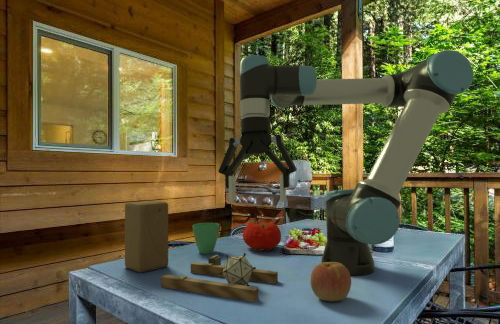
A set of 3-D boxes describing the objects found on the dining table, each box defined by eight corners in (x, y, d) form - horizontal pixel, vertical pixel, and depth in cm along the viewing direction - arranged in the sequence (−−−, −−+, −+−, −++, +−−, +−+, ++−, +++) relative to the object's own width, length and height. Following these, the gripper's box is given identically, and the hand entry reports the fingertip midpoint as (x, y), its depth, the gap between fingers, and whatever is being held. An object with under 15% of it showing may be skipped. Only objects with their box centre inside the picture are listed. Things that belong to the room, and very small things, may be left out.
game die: (243, 304, 80) (250, 278, 75) (212, 289, 82) (217, 263, 77) (255, 276, 88) (262, 251, 82) (226, 264, 89) (232, 238, 84)
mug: (223, 253, 117) (223, 225, 117) (196, 256, 113) (196, 227, 113) (210, 245, 130) (210, 220, 130) (186, 248, 126) (186, 222, 126)
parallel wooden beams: (281, 278, 88) (281, 261, 88) (254, 302, 72) (254, 281, 72) (200, 267, 99) (200, 253, 99) (160, 286, 83) (160, 269, 83)
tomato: (249, 255, 114) (249, 226, 114) (239, 245, 130) (239, 220, 130) (288, 252, 117) (287, 224, 118) (274, 243, 133) (273, 219, 133)
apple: (357, 306, 69) (356, 267, 69) (316, 307, 68) (315, 269, 69) (342, 291, 78) (341, 257, 78) (306, 293, 77) (305, 258, 77)
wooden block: (169, 266, 101) (169, 201, 102) (139, 274, 94) (139, 204, 94) (152, 261, 108) (152, 200, 108) (123, 267, 100) (123, 202, 101)
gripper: (306, 116, 83) (308, 200, 82) (217, 123, 91) (219, 199, 90) (300, 111, 76) (303, 203, 75) (205, 119, 84) (206, 201, 83)
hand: (257, 201), depth 83 cm, fingers open, 13 cm apart
